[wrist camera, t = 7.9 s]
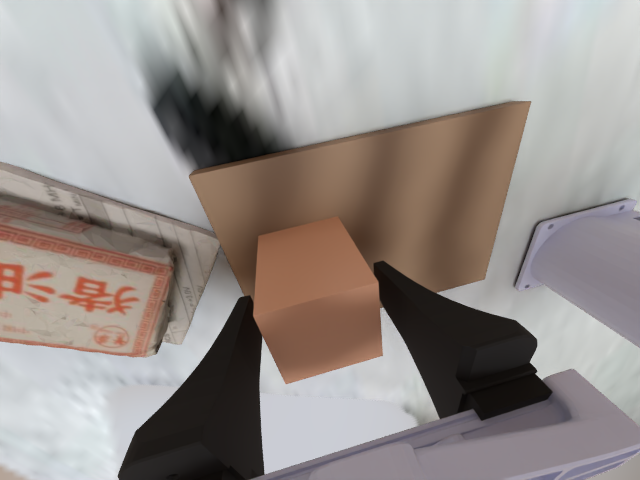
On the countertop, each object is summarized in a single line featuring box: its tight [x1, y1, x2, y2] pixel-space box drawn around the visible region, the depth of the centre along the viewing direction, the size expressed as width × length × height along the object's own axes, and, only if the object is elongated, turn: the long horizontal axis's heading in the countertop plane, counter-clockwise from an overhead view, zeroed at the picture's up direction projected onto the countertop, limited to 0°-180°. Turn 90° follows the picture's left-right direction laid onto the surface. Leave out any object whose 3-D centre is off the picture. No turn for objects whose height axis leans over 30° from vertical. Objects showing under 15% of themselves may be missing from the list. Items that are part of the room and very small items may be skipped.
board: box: [189, 101, 531, 308], centre depth 17 cm, size 20×14×1 cm
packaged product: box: [0, 162, 220, 358], centre depth 13 cm, size 18×5×10 cm
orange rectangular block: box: [253, 216, 383, 384], centre depth 14 cm, size 5×5×7 cm
